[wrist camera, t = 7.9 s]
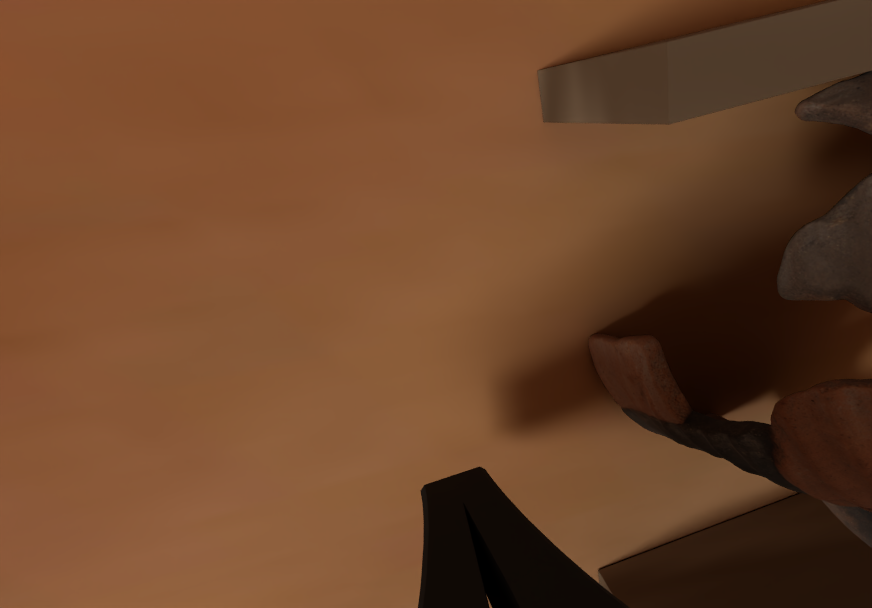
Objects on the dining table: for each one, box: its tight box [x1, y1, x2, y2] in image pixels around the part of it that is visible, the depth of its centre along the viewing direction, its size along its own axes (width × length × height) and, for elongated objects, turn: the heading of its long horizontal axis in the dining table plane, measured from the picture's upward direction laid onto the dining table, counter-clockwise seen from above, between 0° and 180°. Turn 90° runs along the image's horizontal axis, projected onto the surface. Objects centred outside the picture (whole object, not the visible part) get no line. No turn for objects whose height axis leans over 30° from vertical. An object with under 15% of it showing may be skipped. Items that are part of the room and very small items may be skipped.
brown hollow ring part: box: [589, 71, 872, 548], centre depth 11 cm, size 12×10×8 cm
